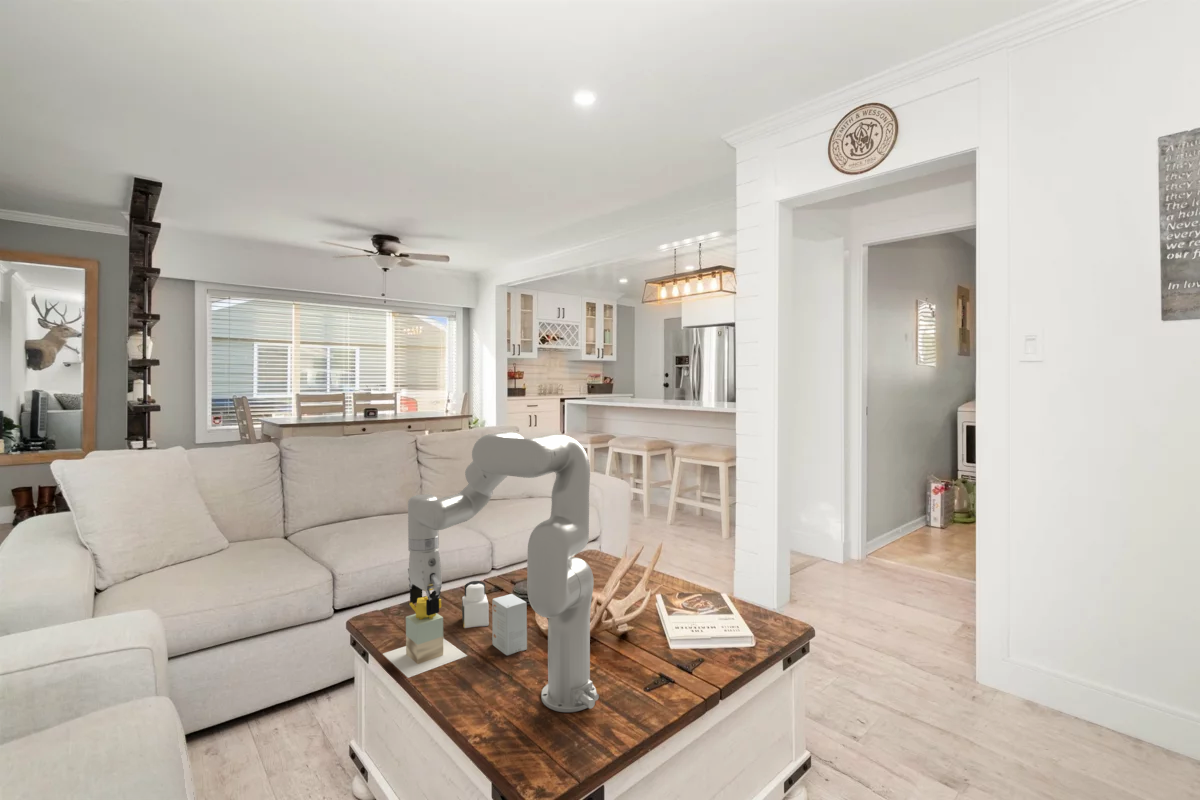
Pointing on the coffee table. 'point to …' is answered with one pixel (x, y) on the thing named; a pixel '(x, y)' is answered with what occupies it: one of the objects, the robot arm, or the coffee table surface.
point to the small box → (509, 624)
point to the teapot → (422, 608)
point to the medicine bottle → (475, 605)
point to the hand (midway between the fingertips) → (424, 607)
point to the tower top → (424, 628)
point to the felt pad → (413, 668)
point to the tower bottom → (424, 650)
